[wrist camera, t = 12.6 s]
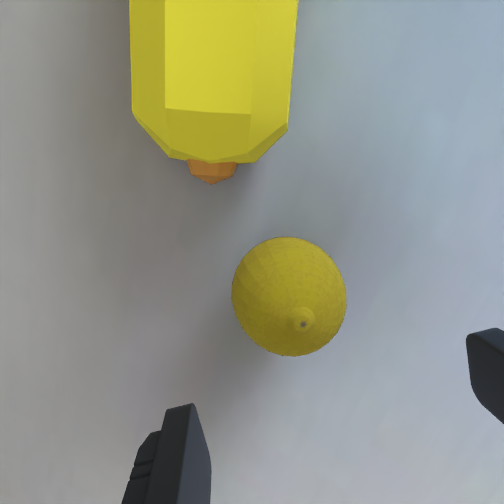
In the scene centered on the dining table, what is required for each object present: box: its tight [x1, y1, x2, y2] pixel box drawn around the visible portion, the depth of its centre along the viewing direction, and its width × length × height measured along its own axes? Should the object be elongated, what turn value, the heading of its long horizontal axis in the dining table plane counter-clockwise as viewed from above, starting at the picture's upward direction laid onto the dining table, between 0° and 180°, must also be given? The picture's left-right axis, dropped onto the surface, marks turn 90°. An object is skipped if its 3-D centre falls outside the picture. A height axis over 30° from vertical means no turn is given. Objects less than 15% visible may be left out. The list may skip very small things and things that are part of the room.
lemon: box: [232, 237, 346, 356], centre depth 19 cm, size 6×6×8 cm
